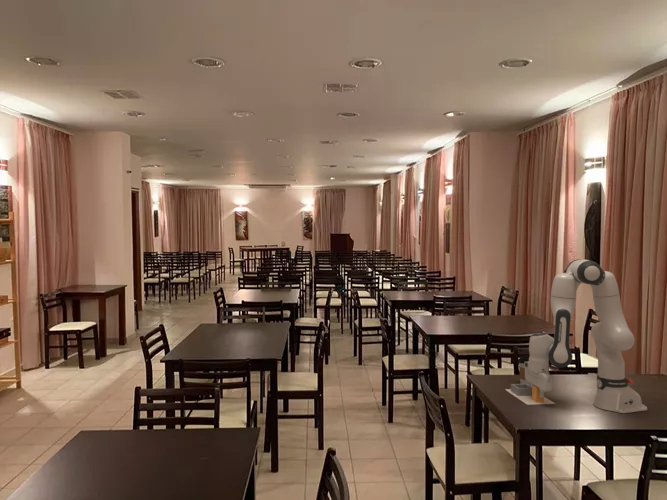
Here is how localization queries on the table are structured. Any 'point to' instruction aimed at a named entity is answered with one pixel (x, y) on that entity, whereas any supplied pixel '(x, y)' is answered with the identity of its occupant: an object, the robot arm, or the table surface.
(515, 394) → the white board with socket
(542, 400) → the plug
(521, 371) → the coffee cup
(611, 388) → the robot arm
